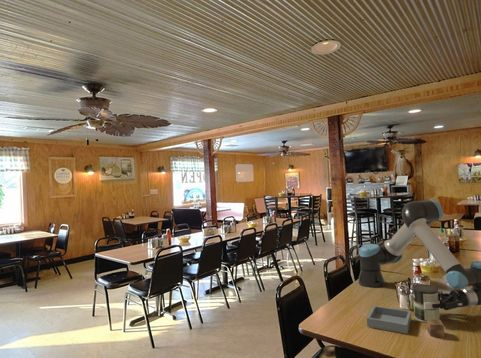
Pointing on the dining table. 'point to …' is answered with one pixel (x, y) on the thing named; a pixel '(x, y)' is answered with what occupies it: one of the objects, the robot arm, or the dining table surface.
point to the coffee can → (422, 296)
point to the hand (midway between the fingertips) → (416, 301)
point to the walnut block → (435, 328)
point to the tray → (389, 319)
